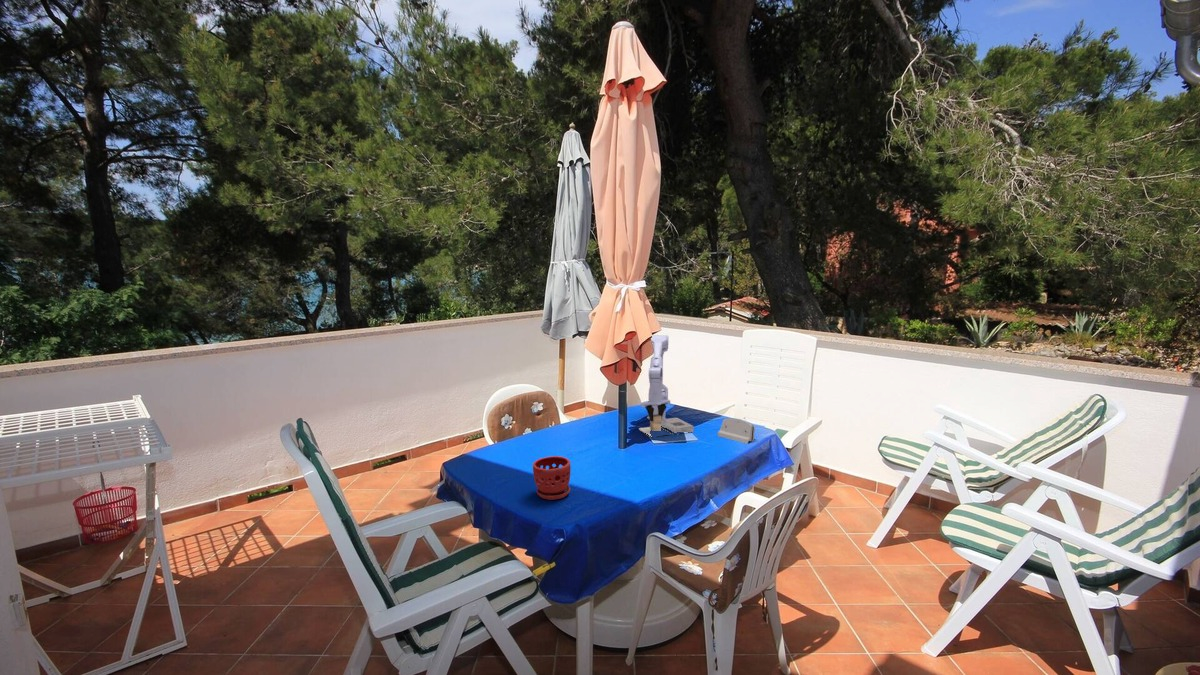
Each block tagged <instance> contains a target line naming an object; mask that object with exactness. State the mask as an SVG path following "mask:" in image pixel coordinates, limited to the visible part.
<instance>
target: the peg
mask: <svg viewBox="0 0 1200 675" xmlns="http://www.w3.org/2000/svg"><path fill="white" fill-rule="evenodd" d="M661 422H662V416H660V415H659V414H654V415H653V421H650V420H649V427H650V429H651V430H652V431H661V428H662V427H661Z"/></svg>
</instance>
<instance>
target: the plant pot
mask: <svg viewBox="0 0 1200 675" xmlns="http://www.w3.org/2000/svg"><path fill="white" fill-rule="evenodd" d="M553 465H555V466H553ZM560 465H561V466H560ZM547 467H548V468H547ZM571 469H572V468H571V460H570V459H569V458H567V457H564V456H559V455H555V456H545V457H542V458H538V459H537V460H535V461H534V462H533V463H532V474H533V478H534V483H535V486H536V487H537V489H536V494H537V496H539V497H540V498H542V499H545V500H550V501H554V500H559V499H562V498H564V497H566V496H568V494H569V493H570V492H571V486H569V484H570V479H571Z"/></svg>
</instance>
